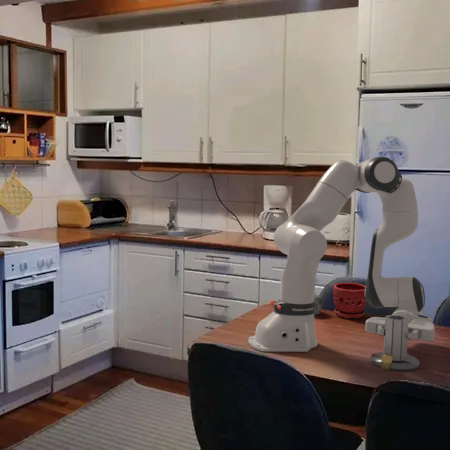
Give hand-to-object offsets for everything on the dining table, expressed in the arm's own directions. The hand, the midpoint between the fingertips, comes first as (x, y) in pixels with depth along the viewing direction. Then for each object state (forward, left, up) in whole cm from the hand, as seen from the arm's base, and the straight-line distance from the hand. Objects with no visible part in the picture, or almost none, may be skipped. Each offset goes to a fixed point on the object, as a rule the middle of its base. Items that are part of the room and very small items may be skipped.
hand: (395, 335), depth 174 cm
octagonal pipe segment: (+1, +1, -7) cm, 7 cm away
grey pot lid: (+1, +1, -9) cm, 9 cm away
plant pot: (+13, +55, -9) cm, 57 cm away
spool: (-1, +63, -9) cm, 63 cm away
